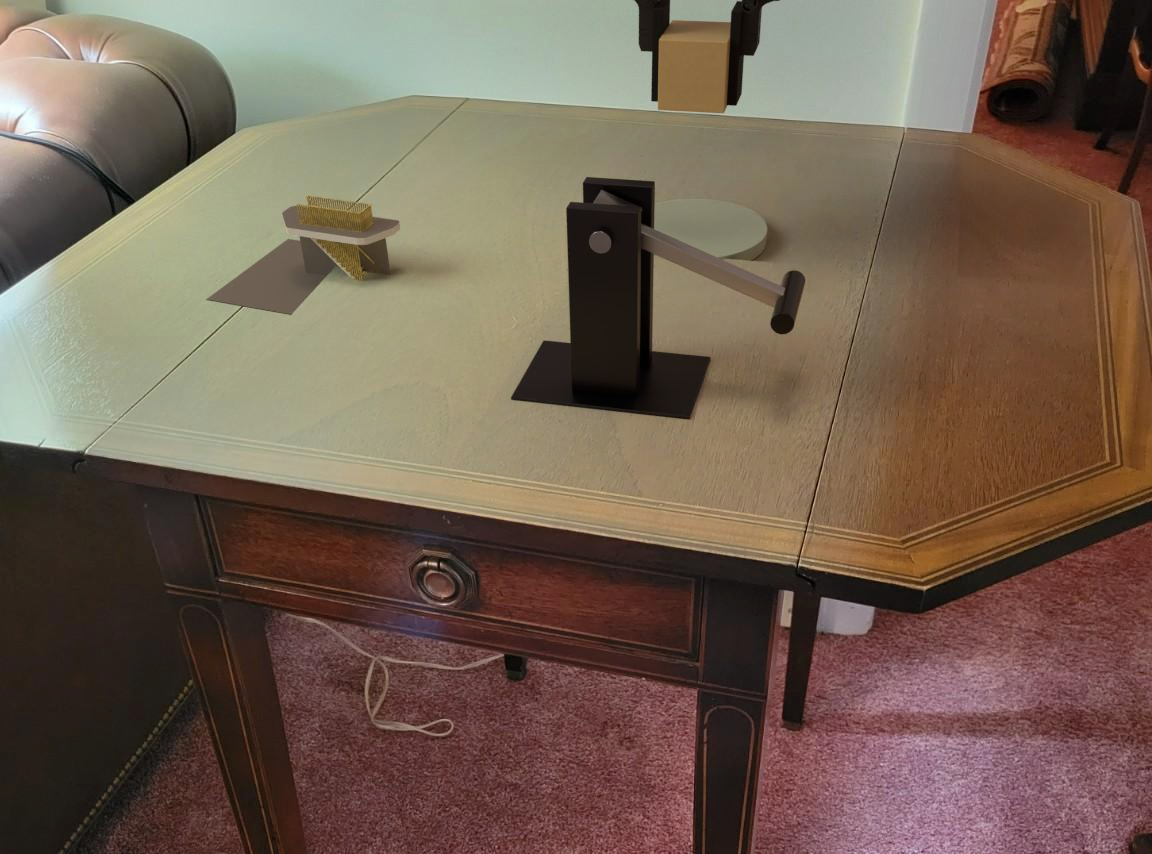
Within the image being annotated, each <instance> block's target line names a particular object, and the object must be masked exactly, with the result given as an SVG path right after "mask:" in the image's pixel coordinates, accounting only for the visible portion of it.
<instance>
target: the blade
mask: <svg viewBox="0 0 1152 854" xmlns="http://www.w3.org/2000/svg"><path fill="white" fill-rule="evenodd" d="M594 203H595V204H609V205H623V206H637V205H635V204H633V203H630V202H628V201H626V200H624V199H621V198H619V197H617V196H615V195H612V194H610V193H608V192H606V191H603V190H601V191H600V193H599V194H598V196H597V198H596V199H595V201H594ZM637 207H639V206H637ZM641 211H642V208H641ZM641 248H642V249H644V250H646V251H648V252H651V253H653V254H655V255H657V256H660V257H662V258H661V259H664V260H666V261H669V262H671V263H673V264H675V265H677V266H680V267H682V268H684V269H687V270H689V271H691V272H693V273H695V274H698V275H700V276H702V277H704V278H707V279H709V280H710V281H713V282H716V283H718V284H720V285H722V286H725V287H726V288H729V289H731V290H734V291H736V292H738V293H740V294H742V295H745V296H747V297H750V298H751V299H754V300H755V301H758V302H760V303H763V304H765V305H766V306H769V307H771V308H773V310H772V313H771V314H772V315H771V318H770V322H769V325H770V328H771V330H772V331H773V332H774V333H776V334H778V335H787V334H789V333H790V332H792V331H793V329H794V328H795V325H796V320H797V317H798V313H799V309H800V304H801V301H802V297H803V293H804V290H805V287H806V286H805V285H806V277H805V275H804V274H803V273H802V272H801V271H799V270H794V269H793V270H789V271H787V272H786V273H785V274H784V275H783V276H782V280H781V284H777V283H775V282H773V281H771V280H769V279H766V278H764V277H762V276H759V275H758V274H755V273H753V272H750V271H748V270H747V269H744V268H742V267H740V266H737V265H735V264H733V263H731V262H729V261H726V260H724V259H719V258H717V257H715V256H713V255H711V254H708V253H706V252H704V251H702V250H699V249H697V248H695V247H693V246H690V245H688V244H686V243H684V242H681V241H679V240H677V239H675V238H673V237H670V236H668V235H666V234H664V233H661V232H659V231H657V230H655V229H652V228H650V227H648V226H646V225H643V224H641ZM660 257H659V258H660Z"/></svg>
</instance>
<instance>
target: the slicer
mask: <svg viewBox="0 0 1152 854" xmlns="http://www.w3.org/2000/svg"><path fill="white" fill-rule="evenodd" d="M601 190H603V191H606V192H608V193H610V194H612V195H615V196H617V197H619V198H621V199H624V200H626V201H628V202H630V203H633V204H635V205H637V206H639V207H637V206H623V205H609V204H595V203H594V201H595V199H596V198H597V196H598V194H599V193H600V191H601ZM655 199H656V182H655V181H654V180H641V179H639V180H638V179H627V178H626V179H625V178H612V177H611V178H610V177H609V178H608V177H595V176H586V177H585V179H584V180H583V182H582V202H580V201H579V202H578V201H569V203H568V205H567V206H566V208H565V209H566V211H565V212H566V213H565V215H566V216H565V217H566V245H567V275H568V276H567V277H568V278H567V279H568V305H569V306H568V310H569V338H570V339H569V341H570V342H566V341H565V342H564V341H554V340H545V339H544V340H542V342H541V344H540V345H539V347H538V348H537V351H536V353H534V356H533V358H532V360H531V362H530V363H529V365H528V367H527V368H526V371H525V372H524V373H523V375H522V377H521V379H520V381H519V382H518V384H517V385H516V387H515V389H514V392H513V393H512V395H511V396H510V400H511V401H518V402H524V403H525V402H527V403H535V404H545V405H551V406H552V405H554V406H563V407H569V408H570V407H571V408H580V409H589V410H598V411H606V412H607V411H608V412H616V413H625V414H635V415H643V416H652V417H660V418H668V419H669V418H670V419H680V420H690V419H691V417H692V413H693V411H694V409H695V405H696V402H697V399H698V396H699V394H700V391H701V388H702V384H703V382H704V379H705V377H706V373H707V370H708V368H709V365H710V362H711V358H712V357H711V356H707V355H706V356H705V355H698V354H697V355H696V354H686V353H676V352H665V351H656V350H655V351H654V350H653V326H654V325H653V324H654V323H653V321H654V268H655V266H654V264H655V263H654V262H655V260H654V259H655V258H654V257H655V256H654V254H653V253H651V252H648V251H646V250H644V249H642V248H641V224H643V225H646V226H648V227H650V228H652V229H654V210H655V203H656V200H655ZM641 208H642V211H641Z"/></svg>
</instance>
